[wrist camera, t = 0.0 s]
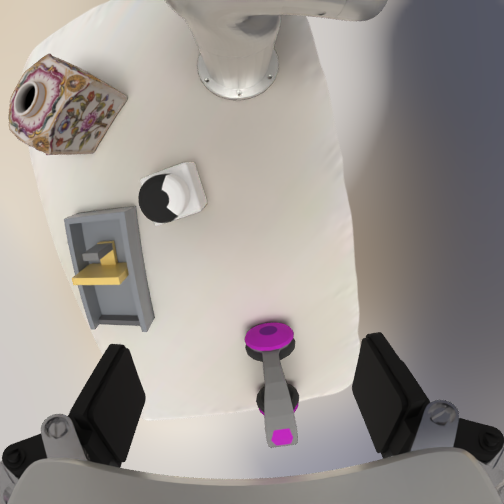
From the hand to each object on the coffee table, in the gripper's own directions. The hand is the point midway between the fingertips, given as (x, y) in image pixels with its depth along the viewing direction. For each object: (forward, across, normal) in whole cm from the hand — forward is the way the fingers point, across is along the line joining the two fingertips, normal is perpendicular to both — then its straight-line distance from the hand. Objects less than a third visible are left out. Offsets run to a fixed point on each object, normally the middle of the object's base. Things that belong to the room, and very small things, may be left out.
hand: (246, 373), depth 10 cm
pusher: (+35, +24, +6) cm, 43 cm away
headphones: (+37, -4, +30) cm, 48 cm away
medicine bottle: (+37, +10, -4) cm, 39 cm away
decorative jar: (+37, +26, -20) cm, 49 cm away
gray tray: (+37, +24, +9) cm, 45 cm away
